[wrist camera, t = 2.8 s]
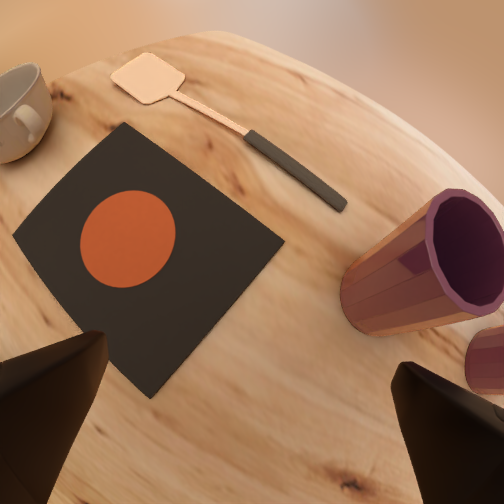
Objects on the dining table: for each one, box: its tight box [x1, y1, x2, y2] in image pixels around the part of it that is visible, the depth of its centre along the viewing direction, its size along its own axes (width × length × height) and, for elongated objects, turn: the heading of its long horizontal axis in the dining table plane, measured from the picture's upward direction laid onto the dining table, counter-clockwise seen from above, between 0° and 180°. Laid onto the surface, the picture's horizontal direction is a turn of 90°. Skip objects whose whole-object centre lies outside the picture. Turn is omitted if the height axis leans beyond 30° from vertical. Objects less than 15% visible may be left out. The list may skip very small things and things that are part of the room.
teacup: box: [0, 62, 53, 164], centre depth 22 cm, size 14×11×8 cm
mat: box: [12, 122, 285, 399], centre depth 23 cm, size 20×16×1 cm
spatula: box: [110, 52, 347, 211], centre depth 27 cm, size 6×29×2 cm, turn 51°
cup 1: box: [340, 188, 504, 337], centre depth 18 cm, size 7×7×12 cm
